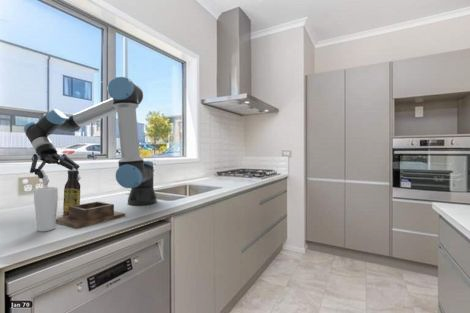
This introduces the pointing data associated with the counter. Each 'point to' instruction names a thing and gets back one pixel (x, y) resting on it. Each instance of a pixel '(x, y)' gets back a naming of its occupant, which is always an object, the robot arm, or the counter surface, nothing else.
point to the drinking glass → (46, 208)
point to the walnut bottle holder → (89, 214)
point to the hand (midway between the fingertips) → (63, 181)
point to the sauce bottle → (71, 191)
